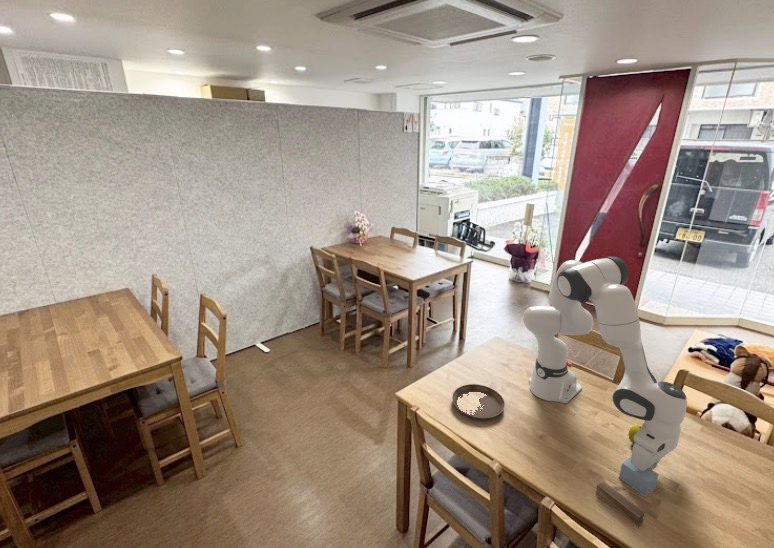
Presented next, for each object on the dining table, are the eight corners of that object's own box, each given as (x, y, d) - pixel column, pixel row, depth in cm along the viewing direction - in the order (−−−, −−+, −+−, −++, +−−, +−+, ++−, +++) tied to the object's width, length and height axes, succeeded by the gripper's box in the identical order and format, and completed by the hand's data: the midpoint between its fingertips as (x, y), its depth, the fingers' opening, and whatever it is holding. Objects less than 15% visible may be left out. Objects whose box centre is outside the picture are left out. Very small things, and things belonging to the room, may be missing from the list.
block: (627, 471, 122) (631, 456, 120) (654, 489, 115) (658, 474, 113) (618, 477, 120) (622, 462, 118) (645, 496, 113) (649, 481, 111)
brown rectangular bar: (601, 489, 116) (603, 481, 114) (642, 521, 106) (645, 512, 104) (595, 494, 114) (597, 485, 113) (636, 527, 104) (639, 517, 103)
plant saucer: (515, 415, 148) (516, 408, 147) (470, 430, 141) (470, 422, 140) (483, 385, 166) (484, 379, 165) (442, 397, 159) (443, 391, 158)
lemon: (642, 440, 134) (647, 422, 131) (647, 452, 129) (652, 433, 126) (624, 437, 136) (629, 419, 133) (628, 448, 131) (633, 429, 128)
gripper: (667, 414, 123) (658, 448, 127) (630, 437, 113) (622, 473, 118) (689, 426, 117) (679, 461, 122) (653, 451, 108) (643, 488, 113)
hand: (650, 467), depth 120 cm, fingers closed
